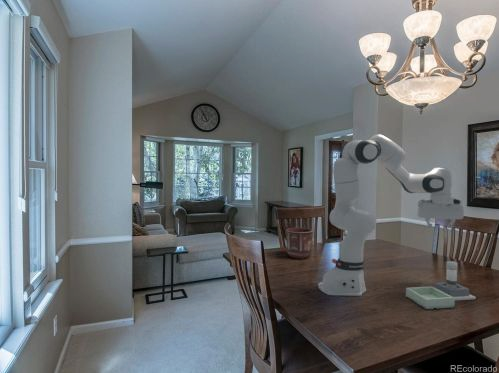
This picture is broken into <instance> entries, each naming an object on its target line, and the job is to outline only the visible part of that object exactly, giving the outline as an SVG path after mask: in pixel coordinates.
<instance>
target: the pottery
mask: <svg viewBox="0 0 499 373" xmlns="http://www.w3.org/2000/svg"><path fill="white" fill-rule="evenodd" d="M285 232H286V233H285V234H286V235H285V236H286V252H287V254H288V256H289V257H291V258H292V259H296V260H297V259H298V260H304V259H308V258H309V256H310V255H311V254H312V251H313V234H314V231H313V229H311V228H307V227H290V228H286V229H285Z"/></svg>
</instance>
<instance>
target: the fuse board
mask: <svg viewBox="0 0 499 373" xmlns="http://www.w3.org/2000/svg"><path fill="white" fill-rule="evenodd" d="M433 287H434V288H436V289H438V290H440V291H442V292H444V293H446V294H448V295H450V296H452V297H454V298H455V301H467V300H468V301H469V300H470V301H471V300H476V298H477V297H476V296H474V295H472V294H470V288H468V287H466V286H463V285H461V284H459V283H457V288H449V287H447V286H446V281H438V282H437V281H435V282H434V283H433Z"/></svg>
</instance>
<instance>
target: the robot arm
mask: <svg viewBox="0 0 499 373" xmlns="http://www.w3.org/2000/svg"><path fill="white" fill-rule="evenodd" d="M339 154H340V155H339V157H338V159H336V160H335V161H334V162H333V172H332V173H333V174H332V176H333V182H334V183H333V184H334V190H335V204H334V208H333V209H331V211H330V213H329V216H328V218H329V222H330V223H331V225H332V226H334V227H336V228H337V229H339V230H343V231H346V235H345V238H344V239H342V240H341V241H340V242H339V247H338V248H339V250H338V251H339V252H338V253H339V254H338V256H339V257H338V259H336V258H332V259H331V262H332V263H333V264H335V266H333V267H332V268H331V269H330V270H327V272H325V273H324V275H323V278H322V281H321V282H318V285H317V287H318V289H319V290H320V291H321V292H322V293H324V294H326V295H328V296H354V297H355V296H356V297H357V296H358V297H361V296H363V294H364V293H366V292H367V288H366V284H365V277H364V271H365V261H364V250H365V248H364V247H365V243H366V240H367V238H368V236H369V235H370V234H372V233H374V231H375V230H376V226H377V218H376V216H375V215H374V214H373V213H371V212H370V211H366V210H363V209H362V210H361V209H357V208H355V204H356V201H357V200H358V199H359V198H360V196H361V189H360V182H359V175H358V168H359V165H362V164H363V165H364V164H370V163H373V162H374V161H376V160H377V161H378V162H379V163H381V165H383V166H384V168H385V169H386V170H387V171H388V172H389V174H391V175H392V176H393V177H394V178H395V179H396V180H397V181H398V182H399V183H400V185H401V187H402V188H403V190H404V191H405V192H407V193H408V194H430V197H429V198H430V199H420V200H418V203H417V207H418V209H417V217H418V218H421V219H424V221H425V223H426V224H427V225H426V227H427V228H432V227H433V226H432V225H433V224H432V223H431V222H430V220H431V219H441V220H443V219H444V220H450V222H449V223H448V224H447V228H448V229H453V225H454V224H455V222H456V220H463V219H464V216H465V213H464V212H465V211H464V206H463V200H462V199H459V198H456V197H453V196H452V192H451V189H452V182H453V179H452V176H453V175H452V172H451V169H449V168H445V167H433V168H432V170H431V171H429V172H426V173H411V172H409V171H407V169H405V167H404V166H402V165H403V163H404V161H405V159H406V152H405V151H404V149H403V148H402V147H401V146H400V145H398V144H397V143H396V142H395V141H393V140H392V139H390V138H389V137H386V136H385V135H382V134H374V135H372V136H371V137H370V138H369V139H365V140H363V139H362V140H361V139H356V140H349V141H347V142H345V143H344V144H343V145H342V147H341V149H340V153H339Z"/></svg>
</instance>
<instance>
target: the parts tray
mask: <svg viewBox="0 0 499 373" xmlns="http://www.w3.org/2000/svg"><path fill="white" fill-rule="evenodd" d="M405 297H406V298H407V297H408V299H409V300H410V301H412V300H413V301H412V302H414V303H416V304H417V305H419V306H420V307H422V308H424V309H425V310H434V308H436V309H445V308H446V309H447V308H451V309H452V308H455V304H456V303H455V301H456V300H455V298H454V297H452V296H450V295H448V294H446V293H444V292H442V291H440V290H438V289H436V288H434V286H432V285H431V286H416V287H414V286H412V287H405Z"/></svg>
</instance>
